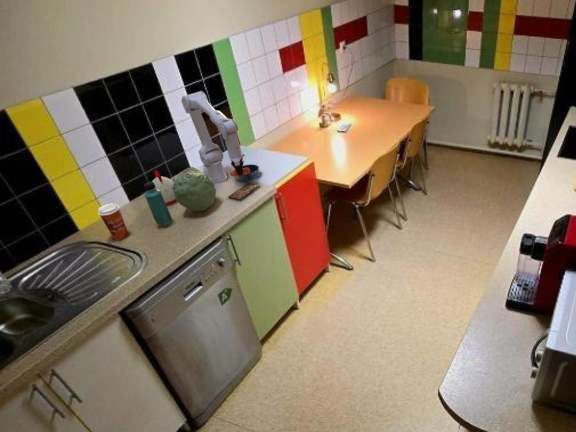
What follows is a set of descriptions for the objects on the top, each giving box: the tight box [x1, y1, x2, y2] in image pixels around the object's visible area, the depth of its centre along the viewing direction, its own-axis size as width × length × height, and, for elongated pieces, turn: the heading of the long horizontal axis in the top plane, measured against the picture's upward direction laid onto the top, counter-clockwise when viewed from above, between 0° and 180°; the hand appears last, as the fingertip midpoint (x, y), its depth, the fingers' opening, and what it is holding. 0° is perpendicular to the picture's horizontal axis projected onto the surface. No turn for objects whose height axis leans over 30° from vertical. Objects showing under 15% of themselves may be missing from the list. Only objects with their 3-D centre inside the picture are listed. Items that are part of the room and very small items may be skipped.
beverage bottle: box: [143, 181, 173, 226], centre depth 176 cm, size 6×7×20 cm
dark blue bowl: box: [235, 163, 261, 182], centre depth 215 cm, size 12×12×4 cm
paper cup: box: [97, 203, 129, 241], centre depth 172 cm, size 8×8×14 cm
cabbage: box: [172, 166, 217, 212], centre depth 186 cm, size 16×19×20 cm
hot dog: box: [230, 168, 250, 178], centre depth 198 cm, size 9×3×3 cm, turn 110°
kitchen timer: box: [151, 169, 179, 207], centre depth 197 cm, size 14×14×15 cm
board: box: [228, 182, 260, 202], centre depth 202 cm, size 14×7×1 cm, turn 155°
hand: (240, 173), depth 198 cm, fingers closed on hot dog, 3 cm apart
